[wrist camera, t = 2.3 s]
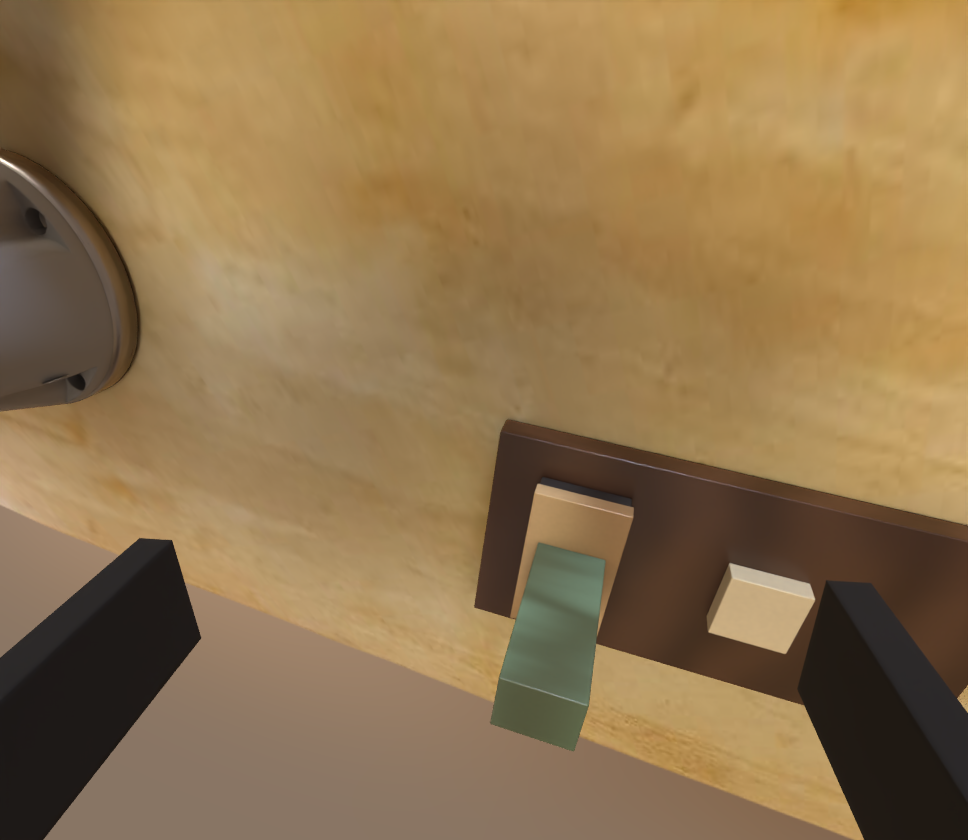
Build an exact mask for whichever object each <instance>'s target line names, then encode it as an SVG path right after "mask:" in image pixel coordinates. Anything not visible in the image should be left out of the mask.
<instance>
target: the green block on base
mask: <svg viewBox="0 0 968 840" xmlns="http://www.w3.org/2000/svg"><path fill="white" fill-rule="evenodd" d="M633 515H634V508H633V507H632V499H630V498H626V497H622V496H618V495H614V494H610V493H606V492H602V491H598V490H594V489H589V488H585V487H581V486H577V485H573V484H569V483H565V482H561V481H557V480H553V479H549V478H545V477H542V479H541V482H540V484H537V487H536V489H535V492H534V497H533V502H532V508H531V513H530V518H529V523H528V528H527V533H526V538H525V544H524V549H523V554H522V559H521V564H520V569H519V574H518V580H517V585H516V590H515V595H514V600H513V605H512V610H511V616H510V617H511V618H514V619H516V621H515V624H514V628H513V631H512V635H511V638H510V642H509V645H508V648H507V652H506V655H505V659H504V662H503V666H502V669H501V673H500V676H499V681H498V686H497V691H496V696H495V701H494V706H493V712H492V716H491V722H490V723H491V724H493V725H496V726H499V727H502V728H504V729H508V730H511V731H513V732H516V733H520V734H522V735H525V736H529V737H531V738H535V739H538V740H540V741H543V742H547V743H549V744H552V745H556V746H559V747H562V748H565V749H567V750H571V751H574V750H575V747H576V744H577V741H578V738H579V735H580V732H581V728H582V725H583V722H584V719H585V716H586V713H587V710H588V707H589V700H590V691H591V683H592V674H593V665H594V657H595V648H596V640H597V635H598V632H599V629H600V625H601V622H602V619H603V616H604V612H605V609H606V606H607V602H608V599H609V596H610V593H611V589H612V586H613V583H614V580H615V576H616V573H617V570H618V566H619V563H620V560H621V557H622V553H623V550H624V547H625V544H626V540H627V537H628V534H629V530H630V527H631V524H632V521H633Z"/></svg>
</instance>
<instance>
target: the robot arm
mask: <svg viewBox="0 0 968 840" xmlns="http://www.w3.org/2000/svg"><path fill="white" fill-rule="evenodd" d="M137 330H138V326H137V313H136V306H135V301H134V297H133V292H132V289H131V286H130V282H129V279H128V277H127V274H126V271H125V269H124V266H123V264H122V262H121V260H120V258H119V255H118V253H117V251H116V250H115V248H114V246H113V244H112V242H111V240H110V239H109V237H108V236H107V234H106V232H105V231H104V229H103V228H102V226H101V225H100V224H99V222H98V221H97V219H96V218H95V217H94V215H93V214H92V213H91V212H90V210H89V209H88V208H87V207H86V205H85V204H84V203H83V202H82V201H81V200H80V199H79V198H78V197H77V196H76V195H75V194H74V193H73V192H72V191H71V190H70V189H69V188H68V187H67V186H66V185H65V184H64V183H63V182H61V181H60V180H59V179H58V178H57V177H55V176H54V175H53V174H52V173H50V172H49V171H47V170H46V169H44V168H43V167H42V166H40V165H38V164H36V163H35V162H33V161H31V160H30V159H27V158H25V157H23V156H21V155H19V154H16V153H14V152H11V151H8V150H4V149H0V411H8V410H17V409H25V408H34V407H43V406H51V405H60V404H68V403H74V402H77V401H81V400H83V399H85V398H87V397H89V396H92V395H94V394H96V393H98V392H100V391H102V390H105V389H107V388H109V387H110V386H112V385H114V384H115V383H116V382H117V381H118V380H120V379H121V378H122V376H123V375H124V374H125V373H126V371H127V369H128V368H129V366H130V364H131V361H132V359H133V356H134V353H135V349H136V343H137ZM200 639H201V636H200V632H199V629H198V626H197V623H196V619H195V616H194V612H193V609H192V606H191V602H190V599H189V595H188V592H187V589H186V586H185V582H184V579H183V575H182V572H181V569H180V565H179V562H178V559H177V555H176V552H175V549H174V545H173V542H172V540H159V539H143V538H139V539H138V540H137V541H136V542H135V543H134V544H132V545H131V546H130V547H129V548H128V549H127V550H125V551H124V552H123V553H122V554H121V555H120V556H118V557H117V558H116V559H115V560H114V561H113V562H112V563H110V564H109V565H108V566H107V567H106V568H104V569H103V570H102V571H101V572H100V573H99V574H97V576H95V577H94V578H93V579H92V580H90V581H89V582H88V583H87V584H86V585H85V586H83V587H82V588H81V589H80V590H79V591H78V592H77V593H75V594H74V595H73V596H72V597H71V598H69V599H68V600H67V601H66V602H65V603H64V604H62V606H60V607H59V608H58V609H57V610H55V611H54V613H52V614H51V615H50V616H48V617H47V618H46V619H45V620H44V621H43V622H41V623H40V624H39V625H38V626H37V627H36V628H34V629H33V630H32V631H31V632H30V633H29V634H28V635H26V636H25V637H24V638H23V639H22V640H20V641H19V642H18V643H17V644H16V645H15V646H14V647H12V648H11V649H10V650H9V651H8V652H7V653H5V654H4V655H3V656H2V657H1V658H0V840H43V839H44V838H45V837H46V835H47V834H48V833H49V832H50V830H51V829H52V828H53V827H54V825H55V824H56V823H57V821H58V820H59V819H60V818H61V816H62V815H63V813H64V812H65V811H66V810H67V809H68V807H69V806H70V805H71V803H72V802H73V801H74V800H75V798H76V797H77V796H78V795H79V793H80V792H81V791H82V790H83V788H84V787H85V786H86V784H87V783H88V782H89V781H90V779H91V778H92V777H93V775H94V774H95V773H96V772H97V770H98V769H99V768H100V766H101V765H102V764H103V763H104V761H105V760H106V759H107V758H108V756H109V755H110V753H111V752H112V751H113V750H114V749H115V747H116V746H117V745H118V743H119V742H120V741H121V740H122V738H123V737H124V736H125V735H126V733H127V732H128V731H129V729H130V728H131V727H132V725H133V724H134V723H135V722H136V720H137V719H138V718H139V717H140V715H141V714H142V713H143V712H144V710H145V709H146V708H147V707H148V705H149V704H150V703H151V701H152V700H153V699H154V698H155V696H156V695H157V694H158V692H159V691H160V690H161V689H162V687H163V686H164V685H165V684H166V682H167V681H168V680H169V679H170V677H171V676H172V675H173V673H174V672H175V671H176V669H177V668H178V667H179V666H180V664H181V663H182V662H183V661H184V659H185V658H186V657H187V656H188V654H189V653H190V652H191V650H192V649H193V648H194V647H195V645H196V644H197V643H198V642H199V640H200ZM797 690H798V692H799V694H800V697H801V699H802V701H803V703H804V706H805V708H806V710H807V712H808V715H809V717H810V719H811V721H812V724H813V726H814V728H815V730H816V732H817V735H818V737H819V739H820V741H821V744H822V746H823V748H824V750H825V753H826V755H827V757H828V759H829V762H830V764H831V766H832V768H833V771H834V773H835V775H836V777H837V780H838V782H839V784H840V786H841V788H842V791H843V793H844V795H845V797H846V800H847V802H848V804H849V806H850V809H851V811H852V813H853V815H854V818H855V820H856V822H857V824H858V827H859V829H860V831H861V833H862V835H863V838H864V840H968V713H967V711H966V710H965V709H964V707H963V706H962V705H961V703H960V702H959V701H958V699H957V698H956V697H955V695H954V694H953V693H952V691H951V690H950V689H949V687H948V686H947V685H946V683H945V682H944V680H943V679H942V678H941V676H940V675H939V674H938V672H937V671H936V670H935V668H934V667H933V666H932V664H931V663H930V662H929V660H928V659H927V658H926V656H925V655H924V654H923V652H922V651H921V650H920V648H919V647H918V645H917V644H916V643H915V641H914V640H913V639H912V637H911V636H910V635H909V633H908V632H907V631H906V629H905V628H904V627H903V625H902V624H901V623H900V621H899V620H898V619H897V617H896V616H895V615H894V613H893V612H892V610H891V609H890V608H889V606H888V605H887V604H886V602H885V601H884V600H883V598H882V597H881V596H880V594H879V593H878V592H877V590H876V589H875V588H874V586H873V585H872V584H871V583H862V582H846V581H830V580H826V583H825V586H824V590H823V594H822V598H821V601H820V605H819V609H818V613H817V616H816V620H815V624H814V628H813V631H812V635H811V639H810V643H809V646H808V650H807V654H806V658H805V661H804V665H803V669H802V673H801V676H800V680H799V684H798V688H797Z"/></svg>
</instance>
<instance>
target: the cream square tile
mask: <svg viewBox="0 0 968 840" xmlns="http://www.w3.org/2000/svg"><path fill="white" fill-rule="evenodd" d="M814 602H815V597H814V594H813V591H812V588H811V585H810V584H809V583H805V582H801V581H797V580H793V579H789V578H786V577H782V576H778V575H774V574H770V573H766V572H762V571H759V570H755V569H751V568H747V567H743V566H739V565H736V564H732V563H729V565H728V567H727V570H726V572H725V574H724V577H723V579H722V581H721V584H720V586H719V588H718V591H717V593H716V595H715V598H714V600H713V602H712V605H711V607H710V609H709V612H708V614H707V626H708V632H709V633H713V634H716V635H720V636H723V637H727V638H730V639H734V640H737V641H741V642H744V643H748V644H751V645H755V646H758V647H762V648H766V649H769V650H773V651H776V652H780V653H783V654H786V653H787V651H788V649H789V647H790V646H791V644H792V642H793V640H794V638H795V636H796V635H797V633H798V631H799V629H800V627H801V625H802V624H803V622H804V620H805V618H806V616H807V615H808V613H809V611H810V609H811V607H812V605H813V604H814Z"/></svg>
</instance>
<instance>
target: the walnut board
mask: <svg viewBox="0 0 968 840" xmlns="http://www.w3.org/2000/svg"><path fill="white" fill-rule="evenodd" d="M542 477H545V478H549V479H553V480H557V481H561V482H565V483H569V484H573V485H577V486H581V487H585V488H589V489H594V490H598V491H602V492H606V493H610V494H614V495H618V496H622V497H626V498H630V499H632V507H633V508H634V515H633V521H632V524H631V527H630V530H629V534H628V537H627V540H626V544H625V547H624V550H623V553H622V557H621V560H620V563H619V566H618V570H617V573H616V576H615V580H614V583H613V586H612V589H611V593H610V596H609V599H608V602H607V606H606V609H605V612H604V616H603V619H602V622H601V625H600V629H599V632H598V635H597V640H596V644H599V645H603V646H606V647H609V648H613V649H616V650H620V651H623V652H626V653H630V654H633V655H636V656H640V657H643V658H646V659H650V660H653V661H657V662H660V663H663V664H667V665H670V666H673V667H677V668H680V669H684V670H687V671H690V672H694V673H697V674H700V675H704V676H707V677H710V678H714V679H717V680H721V681H724V682H727V683H731V684H734V685H737V686H741V687H744V688H748V689H751V690H754V691H758V692H761V693H764V694H768V695H771V696H774V697H778V698H781V699H785V700H788V701H791V702H795V703H798V704H801V705H804V703H803V701H802V699H801V697H800V694H799V692H798V690H797V688H798V684H799V680H800V676H801V673H802V669H803V665H804V661H805V658H806V654H807V650H808V646H809V643H810V639H811V635H812V631H813V628H814V624H815V620H816V616H817V613H818V609H819V605H820V601H821V598H822V594H823V590H824V586H825V583H826V580H830V581H846V582H862V583H871V584H872V585H873V586H874V588H875V589H876V590H877V592H878V593H879V594H880V596H881V597H882V598H883V600H884V601H885V602H886V604H887V605H888V606H889V608H890V609H891V610H892V612H893V613H894V615H895V616H896V617H897V619H898V620H899V621H900V623H901V624H902V625H903V627H904V628H905V629H906V631H907V632H908V633H909V635H910V636H911V637H912V639H913V640H914V641H915V643H916V644H917V645H918V647H919V648H920V650H921V651H922V652H923V654H924V655H925V656H926V658H927V659H928V660H929V662H930V663H931V664H932V666H933V667H934V668H935V670H936V671H937V672H938V674H939V675H940V676H941V678H942V679H943V680H944V682H945V683H946V685H947V686H948V687H949V689H950V690H951V691H952V693H953V694H954V695H955V697H956V698H958V697H959V695H960V694H961V693H962V692H963V690H964V689H965V688H966V687H967V685H968V526H965V525H960V524H956V523H952V522H947V521H943V520H939V519H935V518H930V517H926V516H922V515H917V514H913V513H909V512H904V511H900V510H896V509H891V508H887V507H883V506H878V505H874V504H870V503H866V502H861V501H857V500H853V499H848V498H844V497H840V496H835V495H831V494H827V493H822V492H818V491H814V490H809V489H805V488H801V487H797V486H792V485H788V484H784V483H779V482H775V481H771V480H766V479H762V478H758V477H753V476H749V475H745V474H740V473H736V472H732V471H727V470H723V469H719V468H715V467H710V466H706V465H702V464H697V463H693V462H689V461H684V460H680V459H676V458H671V457H667V456H663V455H658V454H654V453H650V452H646V451H641V450H637V449H633V448H628V447H624V446H620V445H615V444H611V443H607V442H602V441H598V440H594V439H589V438H585V437H581V436H577V435H572V434H568V433H564V432H559V431H555V430H551V429H546V428H542V427H538V426H533V425H529V424H525V423H520V422H516V421H512V420H506V422H505V424H504V426H503V428H502V430H501V432H500V439H499V445H498V452H497V459H496V465H495V472H494V479H493V485H492V492H491V499H490V505H489V512H488V519H487V525H486V532H485V539H484V545H483V552H482V559H481V565H480V572H479V579H478V585H477V592H476V599H475V605H474V607H475V608H478V609H481V610H485V611H488V612H492V613H495V614H498V615H502V616H505V617H508V618H511V617H510V616H511V610H512V605H513V600H514V595H515V590H516V585H517V580H518V574H519V569H520V564H521V559H522V554H523V549H524V544H525V538H526V533H527V528H528V523H529V518H530V513H531V508H532V502H533V497H534V492H535V489H536V487H537V484H540V482H541V479H542ZM729 563H732V564H736V565H739V566H743V567H747V568H751V569H755V570H759V571H762V572H766V573H770V574H774V575H778V576H782V577H786V578H789V579H793V580H797V581H801V582H805V583H809V584H810V585H811V588H812V591H813V594H814V597H815V602H814V604H813V605H812V607H811V609H810V611H809V613H808V615H807V616H806V618H805V620H804V622H803V624H802V625H801V627H800V629H799V631H798V633H797V635H796V636H795V638H794V640H793V642H792V644H791V646H790V647H789V649H788V651H787V653H786V654H783V653H780V652H776V651H773V650H769V649H766V648H762V647H758V646H755V645H751V644H748V643H744V642H741V641H737V640H734V639H730V638H727V637H723V636H720V635H716V634H713V633H709V632H708V626H707V614H708V612H709V609H710V607H711V605H712V602H713V600H714V598H715V595H716V593H717V591H718V588H719V586H720V584H721V581H722V579H723V577H724V574H725V572H726V570H727V567H728V565H729ZM512 619H514V618H512ZM515 620H516V619H515Z"/></svg>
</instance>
